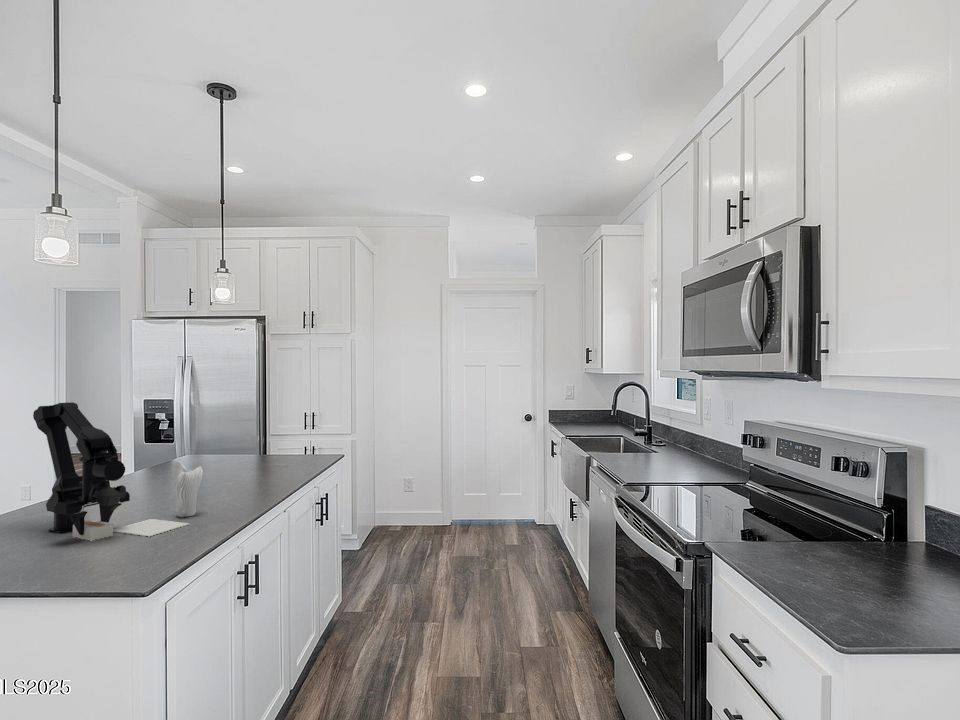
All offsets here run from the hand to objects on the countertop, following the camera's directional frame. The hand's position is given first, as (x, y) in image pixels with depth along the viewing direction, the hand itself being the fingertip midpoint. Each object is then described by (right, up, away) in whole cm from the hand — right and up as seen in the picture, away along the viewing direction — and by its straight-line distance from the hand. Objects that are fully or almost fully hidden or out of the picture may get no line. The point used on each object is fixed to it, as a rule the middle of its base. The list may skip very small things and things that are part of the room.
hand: (92, 531), depth 161 cm
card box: (0, -1, 0) cm, 1 cm away
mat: (+12, -2, +9) cm, 14 cm away
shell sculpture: (+15, -2, +23) cm, 28 cm away
